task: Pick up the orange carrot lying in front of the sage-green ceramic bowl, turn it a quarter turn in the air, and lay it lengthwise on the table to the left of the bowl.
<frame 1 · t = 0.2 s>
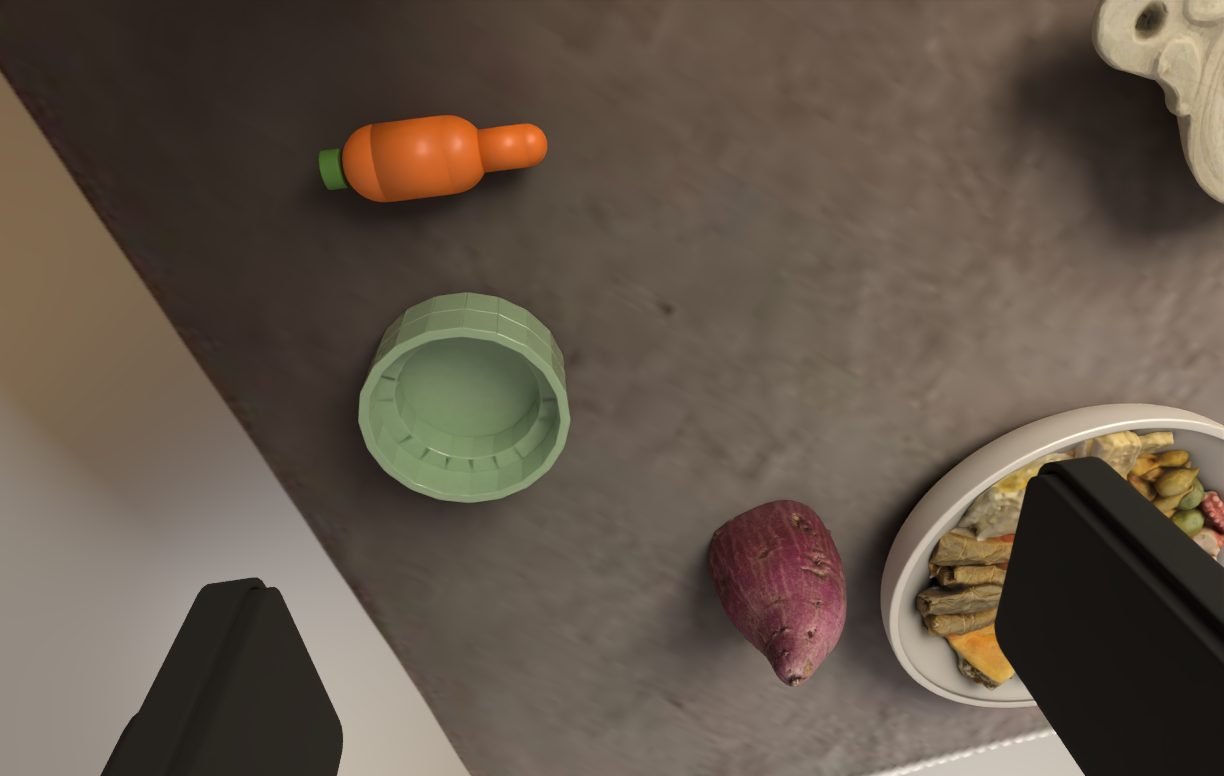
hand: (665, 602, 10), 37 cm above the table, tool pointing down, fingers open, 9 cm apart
carrot: (420, 150, 42), on the table
bowl: (471, 375, 49), on the table
bowl 2: (1041, 537, 62), on the table
vegetable: (768, 550, 60), on the table
oil lamp: (1201, 52, 43), on the table
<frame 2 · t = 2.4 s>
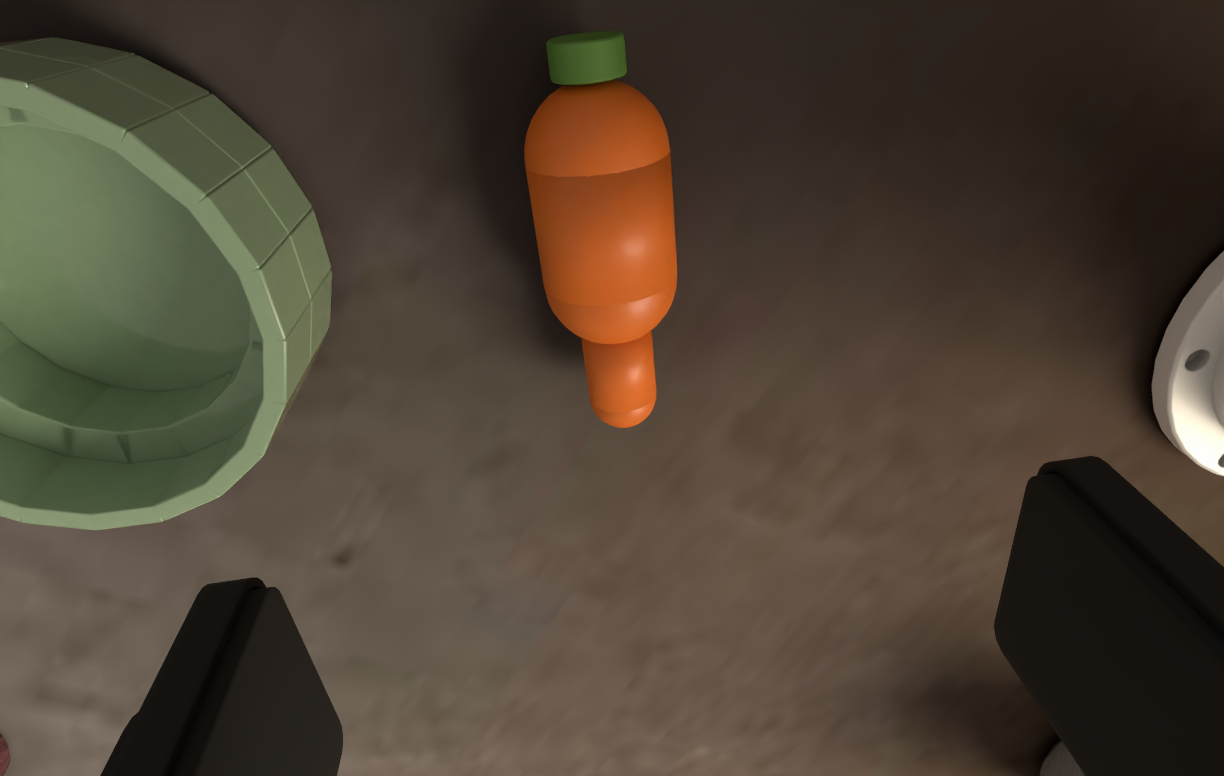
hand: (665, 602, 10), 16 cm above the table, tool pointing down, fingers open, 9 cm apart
carrot: (599, 199, 23), on the table
smart speaker: (1102, 742, 41), on the table
bowl: (129, 256, 23), on the table
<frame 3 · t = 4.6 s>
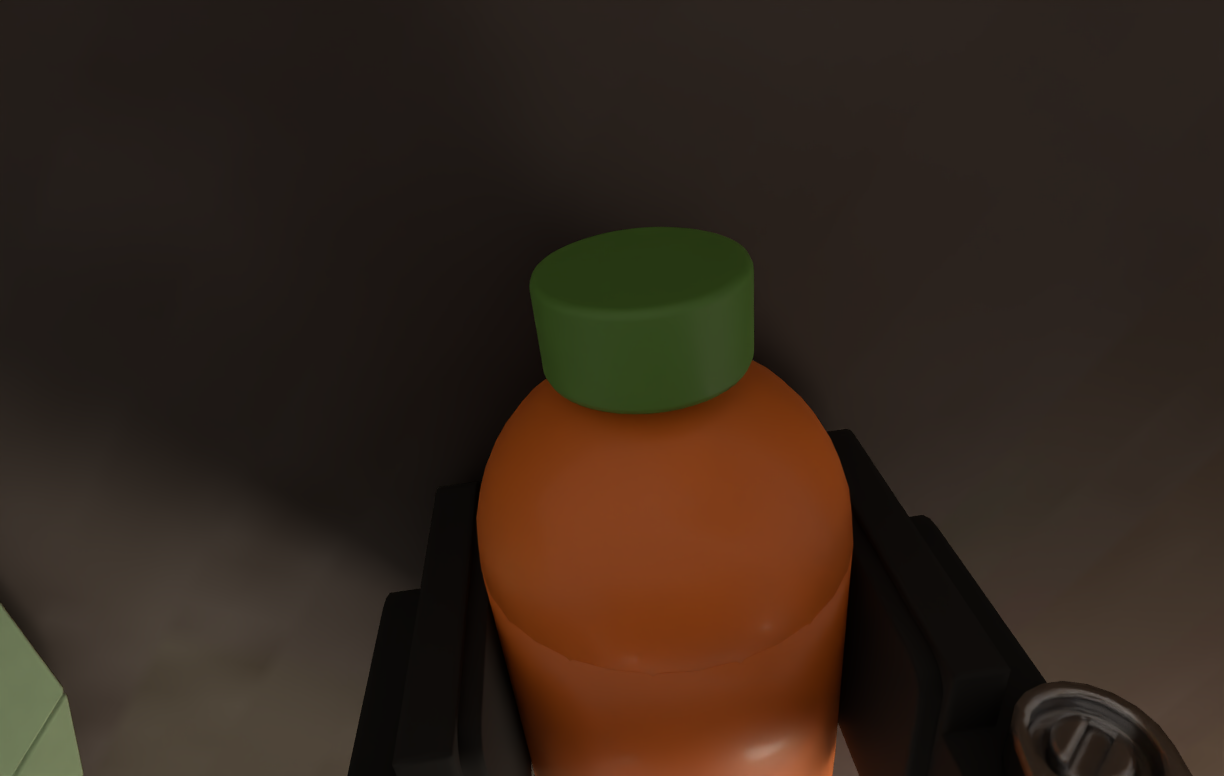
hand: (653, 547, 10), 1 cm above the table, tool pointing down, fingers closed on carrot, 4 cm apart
carrot: (648, 523, 11), on the table, touching gripper
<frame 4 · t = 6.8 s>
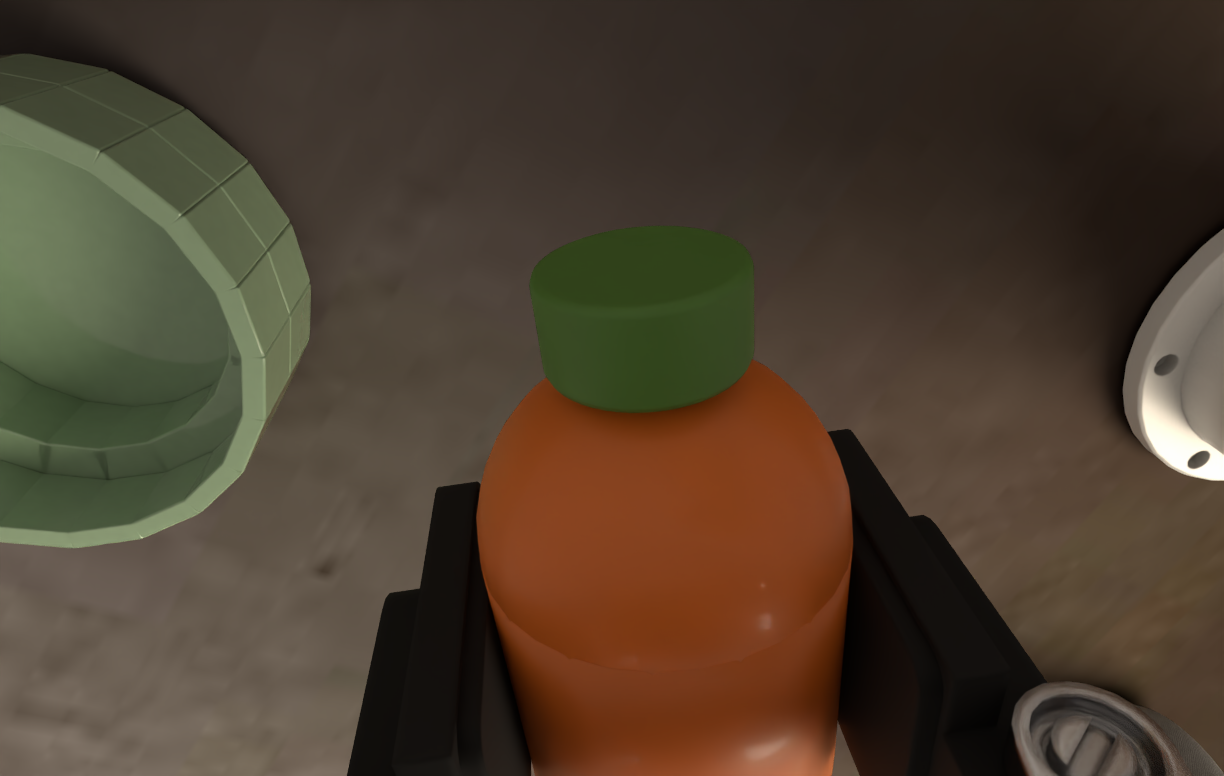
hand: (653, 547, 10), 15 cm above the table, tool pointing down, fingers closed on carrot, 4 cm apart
carrot: (648, 522, 11), point 15 cm above the table, touching gripper
smart speaker: (1079, 736, 42), on the table
bowl: (104, 270, 23), on the table
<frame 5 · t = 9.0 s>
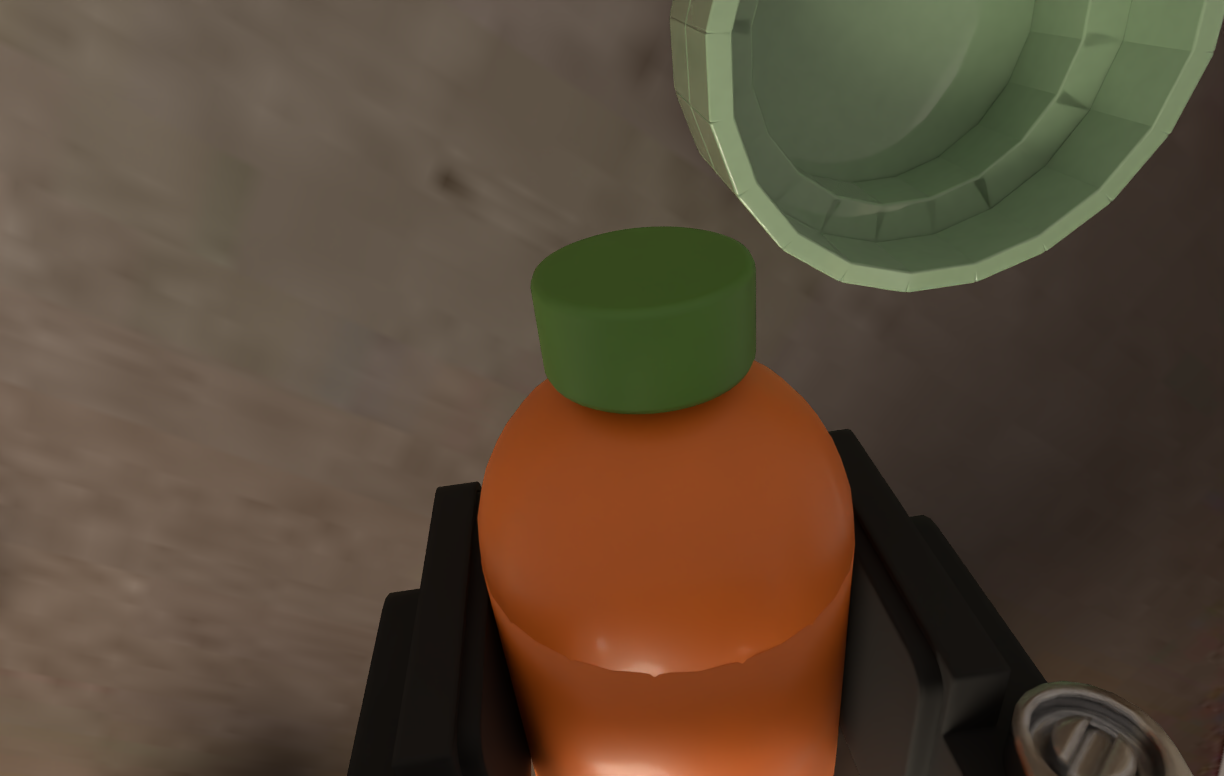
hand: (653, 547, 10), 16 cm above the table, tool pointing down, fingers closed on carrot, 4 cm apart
carrot: (649, 523, 11), point 15 cm above the table, touching gripper
bowl: (874, 23, 22), on the table
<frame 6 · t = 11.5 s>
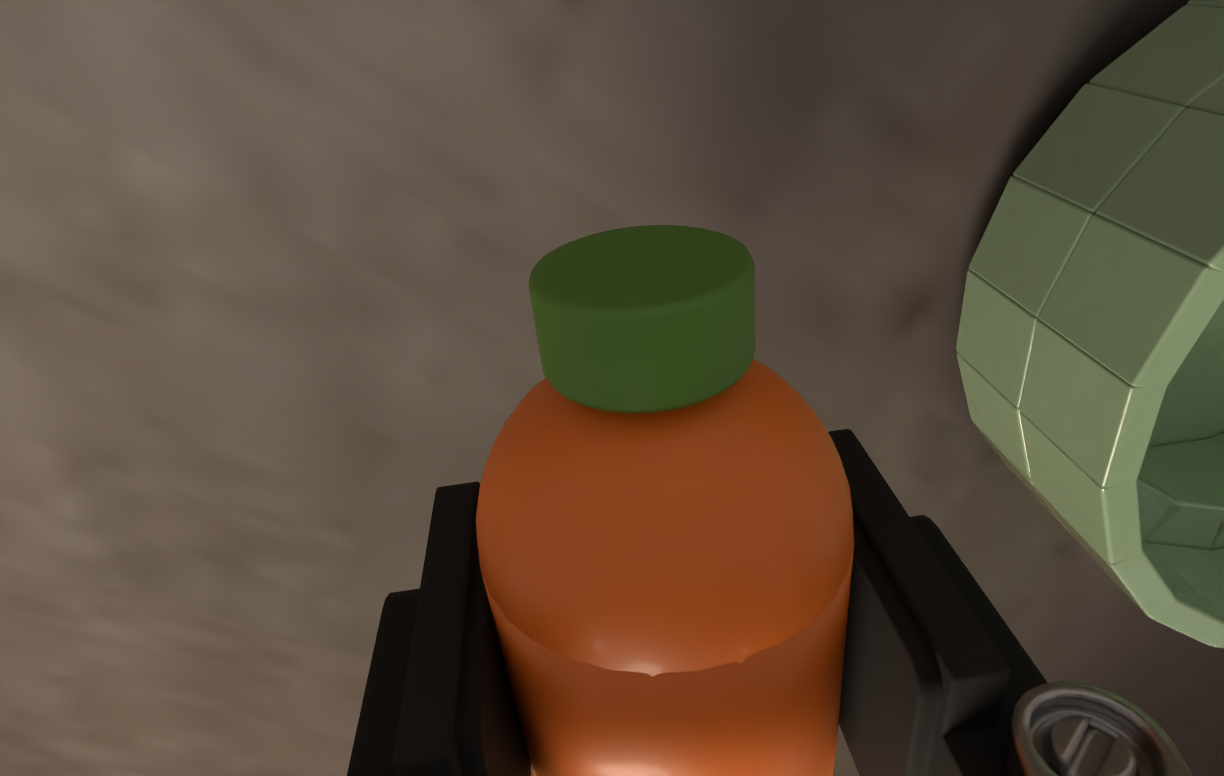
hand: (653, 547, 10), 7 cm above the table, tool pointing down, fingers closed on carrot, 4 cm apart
carrot: (648, 522, 11), point 6 cm above the table, touching gripper
bowl: (1215, 262, 17), on the table
when the fingers open (0 cm above the table, at t = 13.3 s): carrot stays where it is, on the table.
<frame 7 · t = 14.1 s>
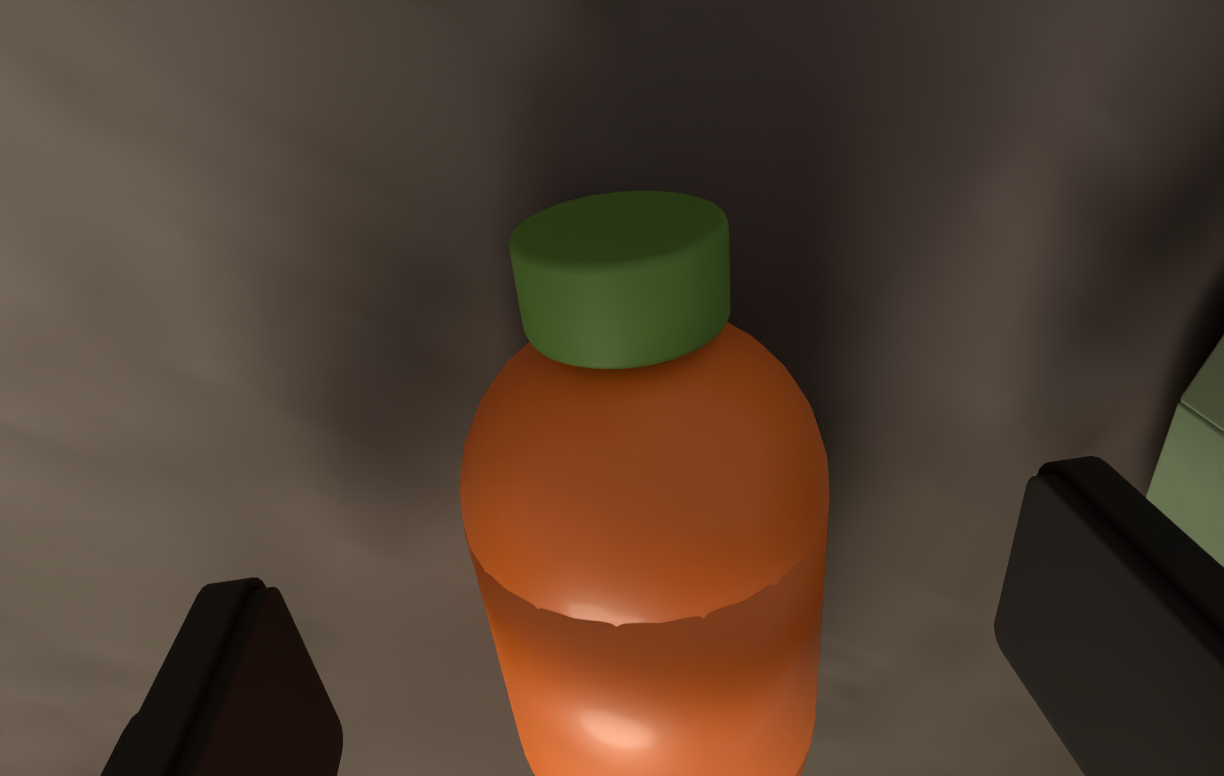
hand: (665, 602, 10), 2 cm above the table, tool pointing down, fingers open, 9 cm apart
carrot: (641, 493, 11), on the table
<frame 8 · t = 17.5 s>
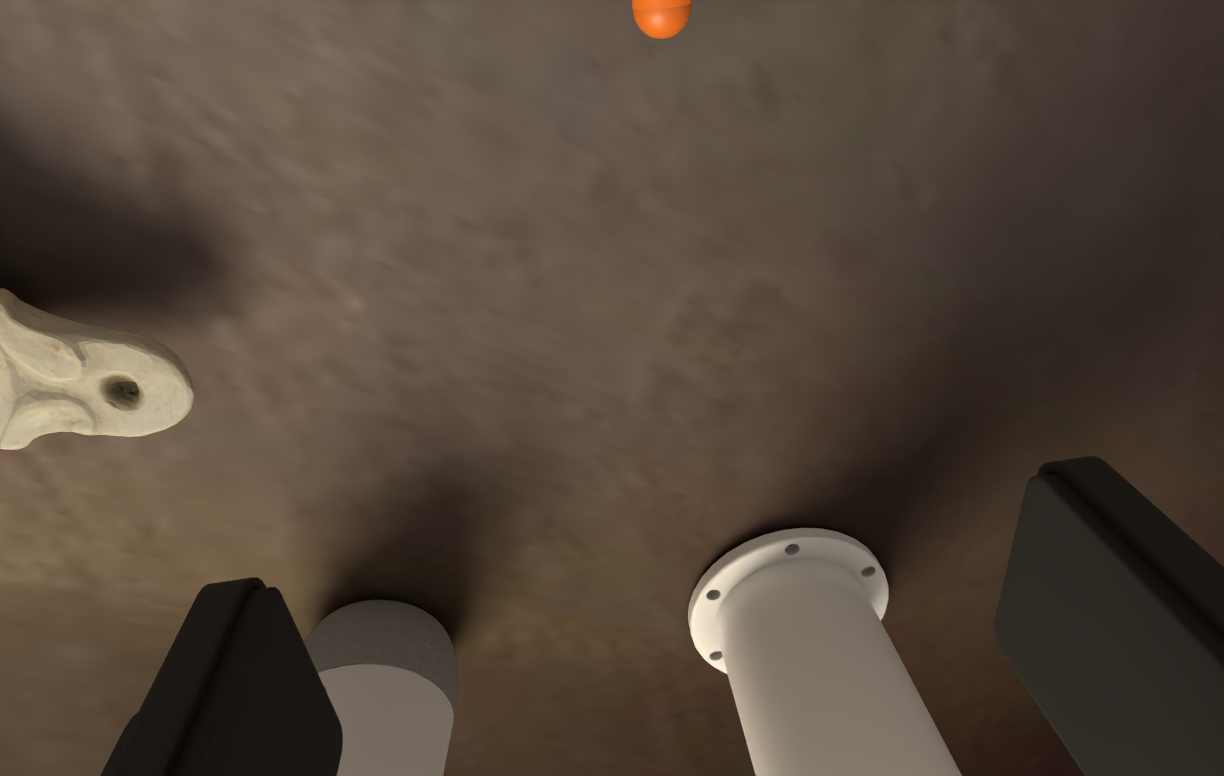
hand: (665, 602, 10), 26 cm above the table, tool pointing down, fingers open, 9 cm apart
smart speaker: (384, 635, 46), on the table
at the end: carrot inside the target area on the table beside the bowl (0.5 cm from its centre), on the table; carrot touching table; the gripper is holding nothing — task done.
